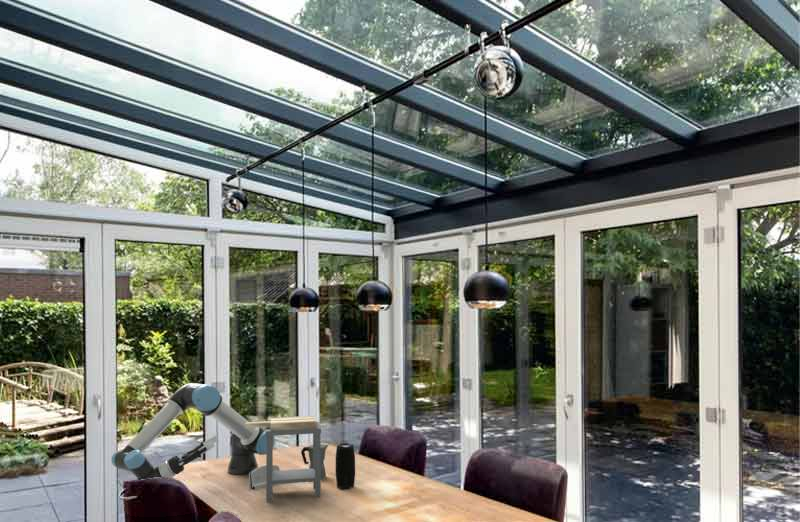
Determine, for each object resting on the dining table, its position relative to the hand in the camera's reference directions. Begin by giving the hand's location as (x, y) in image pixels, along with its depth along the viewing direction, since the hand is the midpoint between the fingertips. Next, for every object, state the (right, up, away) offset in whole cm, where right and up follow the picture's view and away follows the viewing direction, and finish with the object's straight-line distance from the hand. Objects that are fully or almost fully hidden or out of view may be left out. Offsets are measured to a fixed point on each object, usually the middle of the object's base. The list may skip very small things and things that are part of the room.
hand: (215, 440), depth 275 cm
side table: (+34, -25, +2) cm, 43 cm away
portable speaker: (+57, -25, +12) cm, 64 cm away
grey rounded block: (+18, -27, +19) cm, 38 cm away
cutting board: (+29, +5, +4) cm, 29 cm away
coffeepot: (+40, -27, +30) cm, 57 cm away
